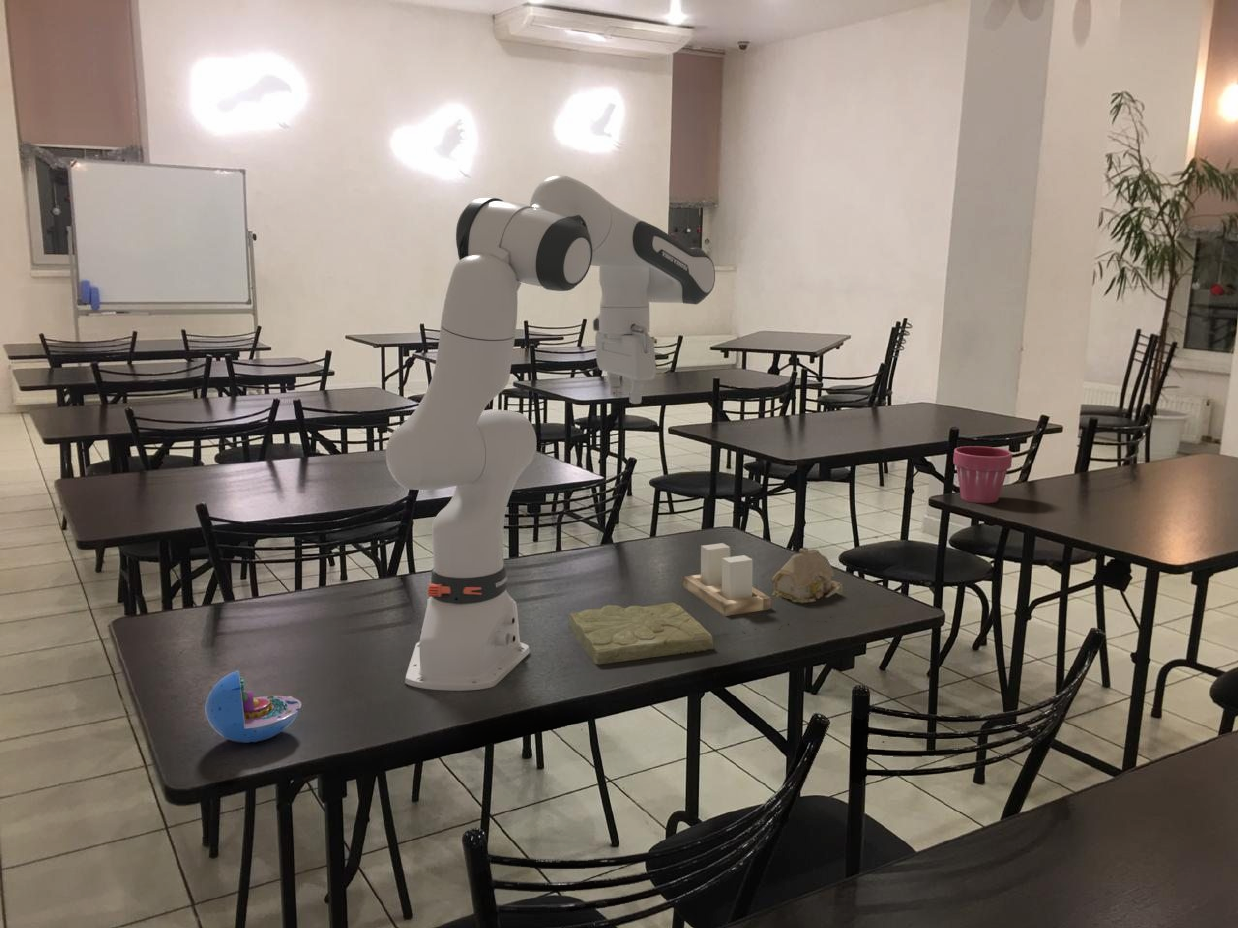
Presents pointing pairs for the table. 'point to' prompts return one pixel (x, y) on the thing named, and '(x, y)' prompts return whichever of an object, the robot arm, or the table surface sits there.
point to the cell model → (247, 711)
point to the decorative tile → (637, 632)
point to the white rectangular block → (737, 577)
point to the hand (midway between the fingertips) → (625, 400)
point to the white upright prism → (713, 563)
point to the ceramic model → (805, 577)
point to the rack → (724, 606)
